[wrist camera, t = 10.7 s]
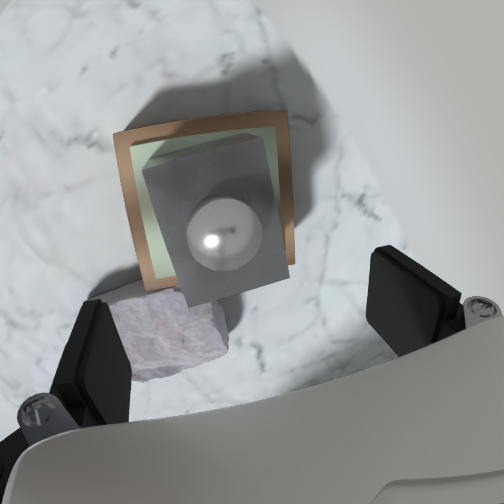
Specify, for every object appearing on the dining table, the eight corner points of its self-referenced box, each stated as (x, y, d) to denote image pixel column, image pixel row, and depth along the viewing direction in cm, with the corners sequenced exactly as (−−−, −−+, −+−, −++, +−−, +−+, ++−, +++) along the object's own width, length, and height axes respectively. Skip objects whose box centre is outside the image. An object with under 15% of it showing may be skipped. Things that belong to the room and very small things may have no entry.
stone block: (232, 322, 32) (197, 246, 26) (243, 360, 28) (204, 285, 22) (128, 355, 32) (75, 292, 26) (129, 393, 28) (66, 333, 22)
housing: (244, 132, 19) (269, 139, 14) (269, 247, 23) (296, 287, 18) (148, 158, 18) (138, 174, 13) (185, 272, 22) (189, 320, 17)
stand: (279, 243, 28) (297, 266, 24) (148, 266, 26) (145, 293, 22) (269, 110, 23) (289, 110, 19) (123, 131, 21) (111, 134, 17)
